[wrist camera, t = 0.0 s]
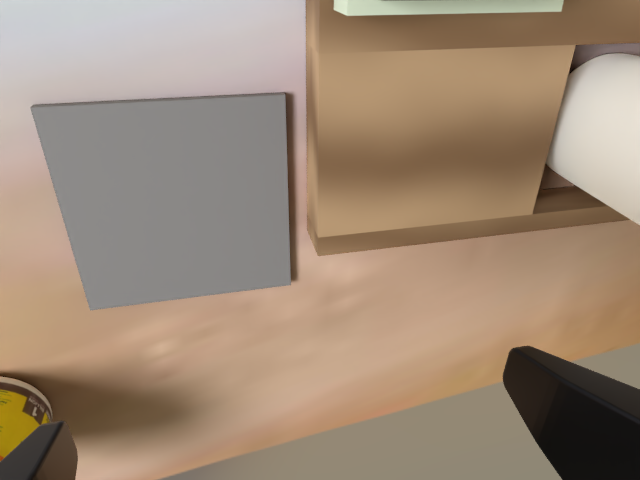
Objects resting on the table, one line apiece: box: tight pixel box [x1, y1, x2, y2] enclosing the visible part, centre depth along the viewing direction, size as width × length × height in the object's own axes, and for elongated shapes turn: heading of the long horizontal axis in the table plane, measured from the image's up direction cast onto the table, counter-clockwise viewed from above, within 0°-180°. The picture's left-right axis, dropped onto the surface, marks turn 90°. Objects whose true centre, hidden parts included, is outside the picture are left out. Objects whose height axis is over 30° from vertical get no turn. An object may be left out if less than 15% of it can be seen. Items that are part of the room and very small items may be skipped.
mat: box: [31, 93, 291, 310], centre depth 23 cm, size 10×10×1 cm
